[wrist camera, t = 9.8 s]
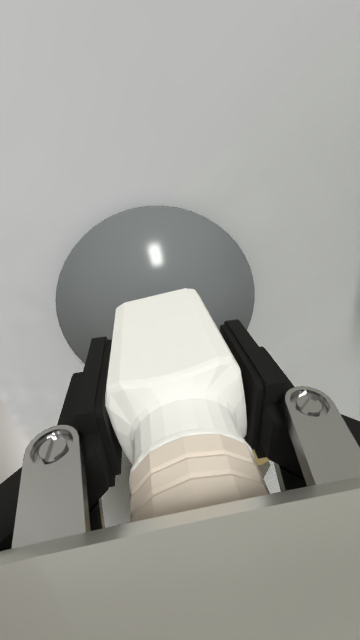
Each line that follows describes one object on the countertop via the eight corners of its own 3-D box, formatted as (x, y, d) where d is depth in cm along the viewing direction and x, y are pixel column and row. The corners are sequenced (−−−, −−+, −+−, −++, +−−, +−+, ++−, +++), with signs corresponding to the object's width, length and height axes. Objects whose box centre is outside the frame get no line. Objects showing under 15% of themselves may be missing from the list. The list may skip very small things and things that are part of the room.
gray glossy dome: (278, 322, 17) (282, 326, 17) (141, 406, 19) (141, 413, 18) (187, 154, 12) (190, 153, 12) (11, 290, 14) (6, 294, 13)
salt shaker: (195, 280, 13) (315, 479, 4) (206, 348, 15) (305, 576, 6) (111, 300, 12) (70, 546, 4) (134, 366, 14) (137, 625, 6)
